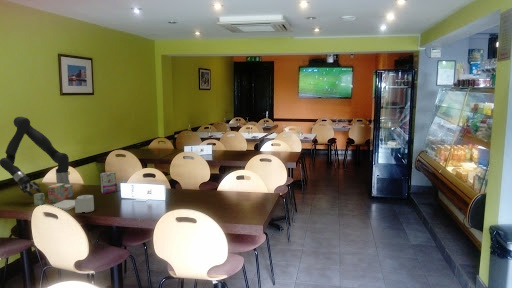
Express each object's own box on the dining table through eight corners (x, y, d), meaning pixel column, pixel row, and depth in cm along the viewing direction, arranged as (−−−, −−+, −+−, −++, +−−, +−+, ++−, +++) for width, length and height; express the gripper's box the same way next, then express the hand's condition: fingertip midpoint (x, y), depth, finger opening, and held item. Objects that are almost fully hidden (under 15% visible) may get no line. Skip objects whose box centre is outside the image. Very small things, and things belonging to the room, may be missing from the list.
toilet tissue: (96, 208, 300) (95, 194, 298) (90, 213, 288) (89, 199, 287) (81, 208, 299) (80, 194, 298) (74, 213, 287) (73, 199, 286)
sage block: (39, 203, 315) (38, 193, 314) (45, 203, 314) (44, 193, 313) (34, 205, 310) (33, 194, 309) (40, 205, 309) (39, 195, 308)
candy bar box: (114, 190, 353) (113, 171, 351) (116, 191, 349) (115, 172, 347) (101, 192, 346) (99, 173, 344) (103, 193, 342) (102, 174, 340)
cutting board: (65, 201, 319) (65, 199, 319) (84, 202, 316) (84, 200, 316) (47, 209, 299) (47, 206, 299) (67, 210, 296) (67, 207, 296)
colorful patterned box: (66, 195, 338) (65, 180, 336) (73, 196, 337) (72, 180, 335) (48, 202, 317) (47, 186, 316) (55, 203, 316) (54, 187, 314)
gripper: (17, 177, 304) (32, 193, 303) (31, 173, 318) (45, 188, 317) (11, 184, 306) (26, 200, 305) (25, 180, 320) (40, 195, 319)
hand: (36, 194), depth 311 cm, fingers open, 8 cm apart
